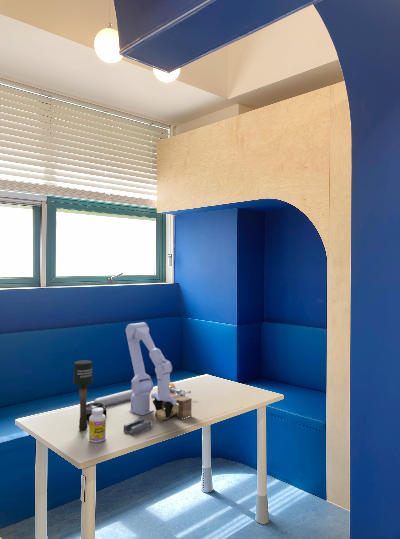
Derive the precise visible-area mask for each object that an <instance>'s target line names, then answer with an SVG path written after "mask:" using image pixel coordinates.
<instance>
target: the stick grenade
mask: <svg viewBox="0 0 400 539" xmlns="http://www.w3.org/2000/svg"><path fill="white" fill-rule="evenodd" d="M92 383H94V379H93V361H91V360H88V359H85V360H84V359H82V360H76V361H75V362H73V381H72V384H73V385H78V386H79V387H78V388H79V390H78V392H79V393H78V394H79V414H80V415H79V423H78V424H79V425H78V429H79V431H82V432H83V431H87V430H88V428H89V425H88V420H87V417H86V404H87V397H88V385H90V384H92Z"/></svg>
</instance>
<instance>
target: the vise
mask: <svg viewBox="0 0 400 539" xmlns="http://www.w3.org/2000/svg"><path fill="white" fill-rule="evenodd" d="M170 393H173V394H177V395H180V396H184V397H186V394H191V393H192V391H191V390H188V391H184V390H182V389H179V388H177V387H176V385H175V383H174V382H171V381H170Z"/></svg>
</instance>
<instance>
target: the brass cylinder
mask: <svg viewBox="0 0 400 539" xmlns="http://www.w3.org/2000/svg"><path fill="white" fill-rule="evenodd" d="M177 415H179V404H178V403H176V404H174V406H173V408H172V411H171V414H170V417H169V418H172V417H174V416H177ZM154 417H155V420H156V421H157V422H162V421H165V420H167V419H168V418H166V413H165V408H163V409H160V410H157V411H156V410H155V412H154Z"/></svg>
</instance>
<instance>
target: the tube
mask: <svg viewBox="0 0 400 539" xmlns="http://www.w3.org/2000/svg"><path fill="white" fill-rule="evenodd" d="M132 394H133V392H132V389H129V390H124V391H121V392H116V393H113V394H109V395H105V396H101V397H97V398H95V399H94V401H93V402H92V403H103V404H105V408H106V407H109V406H112V405H116V404H119V403H124V402H128V401H131V396H132Z"/></svg>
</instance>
